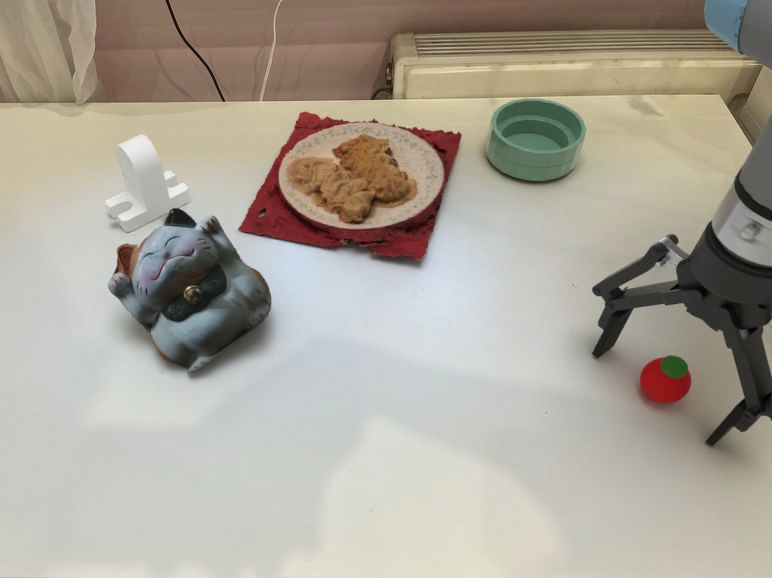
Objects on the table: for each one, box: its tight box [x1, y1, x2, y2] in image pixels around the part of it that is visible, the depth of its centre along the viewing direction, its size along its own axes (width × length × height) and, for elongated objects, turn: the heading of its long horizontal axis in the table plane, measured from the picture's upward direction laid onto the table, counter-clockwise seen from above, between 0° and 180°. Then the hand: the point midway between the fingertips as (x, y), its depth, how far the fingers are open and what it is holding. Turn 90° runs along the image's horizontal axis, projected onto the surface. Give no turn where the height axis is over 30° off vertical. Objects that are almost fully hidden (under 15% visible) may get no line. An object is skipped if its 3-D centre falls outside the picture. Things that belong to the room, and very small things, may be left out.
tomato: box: [639, 355, 693, 404], centre depth 69 cm, size 5×5×5 cm
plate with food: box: [238, 111, 463, 261], centre depth 91 cm, size 24×26×4 cm
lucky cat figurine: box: [107, 207, 273, 373], centre depth 74 cm, size 15×12×14 cm
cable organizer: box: [105, 133, 191, 233], centre depth 87 cm, size 5×10×10 cm, turn 128°
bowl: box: [485, 97, 588, 182], centre depth 93 cm, size 12×12×5 cm
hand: (656, 391), depth 70 cm, fingers open, 13 cm apart
